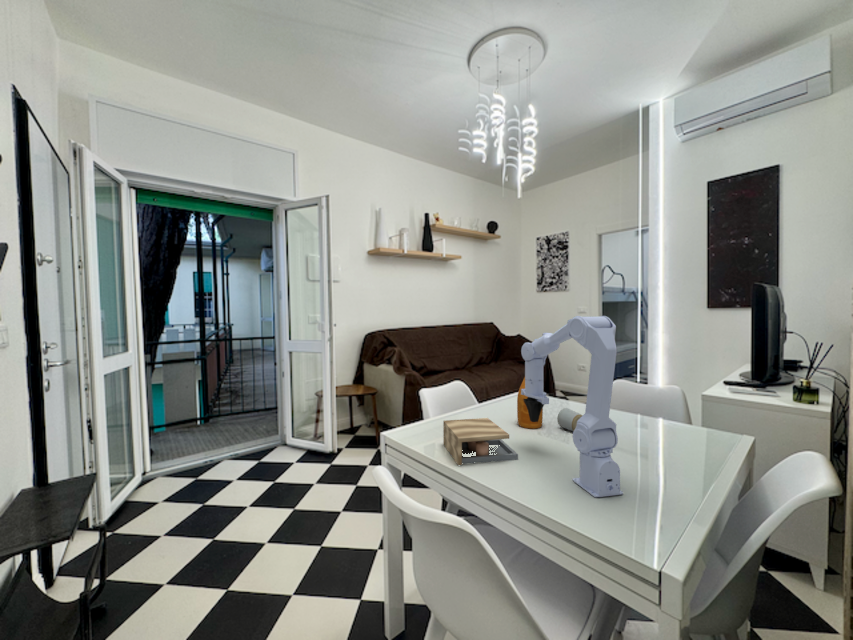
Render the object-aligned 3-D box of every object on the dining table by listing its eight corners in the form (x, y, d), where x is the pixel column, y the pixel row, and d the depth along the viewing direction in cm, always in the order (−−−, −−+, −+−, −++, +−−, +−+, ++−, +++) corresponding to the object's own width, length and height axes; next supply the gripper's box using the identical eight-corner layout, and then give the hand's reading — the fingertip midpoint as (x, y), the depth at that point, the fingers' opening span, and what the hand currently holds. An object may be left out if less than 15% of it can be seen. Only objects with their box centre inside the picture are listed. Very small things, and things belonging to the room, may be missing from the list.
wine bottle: (516, 428, 140) (516, 352, 139) (517, 421, 149) (517, 349, 149) (542, 430, 137) (543, 352, 136) (542, 423, 146) (542, 350, 146)
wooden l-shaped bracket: (509, 461, 108) (509, 434, 108) (458, 466, 105) (458, 438, 105) (487, 441, 125) (487, 417, 125) (443, 444, 122) (443, 420, 122)
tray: (518, 462, 109) (518, 454, 109) (461, 466, 106) (461, 458, 106) (500, 445, 123) (500, 438, 123) (450, 449, 120) (450, 442, 120)
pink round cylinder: (491, 458, 110) (491, 444, 110) (480, 461, 108) (480, 446, 108) (483, 454, 113) (483, 440, 113) (473, 456, 112) (473, 442, 112)
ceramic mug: (572, 434, 132) (573, 414, 132) (556, 428, 140) (556, 408, 140) (593, 431, 136) (593, 411, 136) (576, 425, 144) (577, 406, 144)
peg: (482, 449, 117) (481, 436, 116) (471, 452, 115) (470, 438, 115) (476, 445, 120) (475, 432, 120) (466, 447, 119) (465, 434, 119)
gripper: (558, 383, 109) (558, 427, 109) (534, 375, 124) (534, 414, 124) (537, 384, 108) (537, 428, 108) (515, 376, 122) (515, 415, 122)
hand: (534, 421), depth 116 cm, fingers closed
